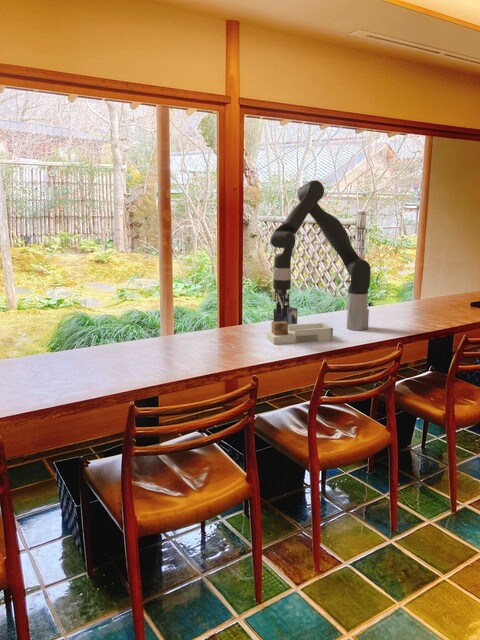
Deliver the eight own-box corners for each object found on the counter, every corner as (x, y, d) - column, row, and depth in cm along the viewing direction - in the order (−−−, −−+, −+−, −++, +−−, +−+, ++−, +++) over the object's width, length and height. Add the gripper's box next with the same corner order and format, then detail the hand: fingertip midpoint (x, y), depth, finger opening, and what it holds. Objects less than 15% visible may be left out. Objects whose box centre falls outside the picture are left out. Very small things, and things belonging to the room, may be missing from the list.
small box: (281, 332, 250) (282, 310, 248) (272, 330, 255) (272, 308, 253) (297, 329, 257) (298, 307, 255) (288, 327, 262) (288, 305, 260)
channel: (323, 334, 246) (323, 322, 245) (332, 340, 236) (332, 328, 234) (266, 337, 241) (266, 325, 240) (273, 344, 230) (273, 331, 229)
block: (284, 331, 239) (284, 320, 238) (287, 334, 234) (287, 323, 233) (271, 332, 238) (271, 321, 236) (274, 335, 233) (274, 324, 232)
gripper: (269, 276, 237) (268, 312, 240) (278, 280, 223) (277, 318, 227) (285, 275, 238) (284, 311, 242) (295, 280, 225) (294, 318, 228)
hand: (281, 314), depth 234 cm, fingers open, 8 cm apart
